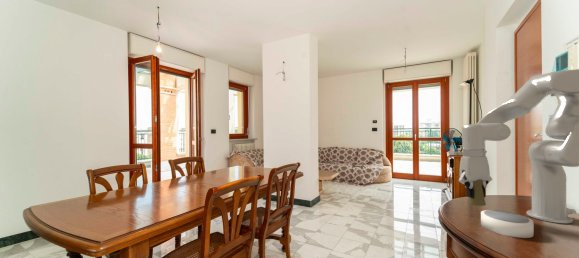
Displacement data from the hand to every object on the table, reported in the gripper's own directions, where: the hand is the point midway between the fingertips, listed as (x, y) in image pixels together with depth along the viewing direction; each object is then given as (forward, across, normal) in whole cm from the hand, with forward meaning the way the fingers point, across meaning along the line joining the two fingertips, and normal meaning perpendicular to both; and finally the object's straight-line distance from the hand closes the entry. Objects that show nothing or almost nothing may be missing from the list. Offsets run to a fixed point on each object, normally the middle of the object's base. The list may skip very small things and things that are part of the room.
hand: (476, 196), depth 99 cm
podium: (+8, +2, +14) cm, 16 cm away
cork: (+3, 0, 0) cm, 3 cm away
